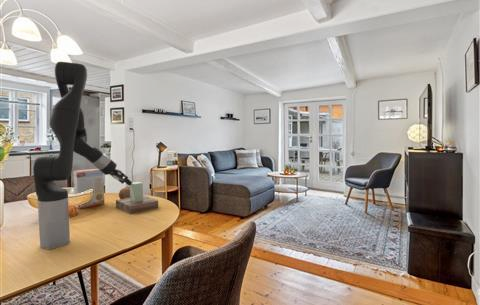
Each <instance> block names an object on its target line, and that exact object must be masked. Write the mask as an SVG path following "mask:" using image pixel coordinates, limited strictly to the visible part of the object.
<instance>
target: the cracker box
mask: <svg viewBox="0 0 480 305" xmlns="http://www.w3.org/2000/svg"><path fill="white" fill-rule="evenodd" d="M72 171H73V189H74V191H73V192H74V195H75V194H77V193H81V192H84V191H86V190H89V189H93V190H94V193H93V195H92V197H91V199H90V200H89V201H88V202H86V203H84V204H81V205H78V206H77V208H76V209H79V210H80V209H85V208H90V207H94V206H100V205H104V204H105V203H106V202H105V187H104V186H105V184H104V173H102V172H101V171H100V170H99V169H98V168H91V169H88V168H87V169H80V170H72Z"/></svg>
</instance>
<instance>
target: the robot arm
mask: <svg viewBox="0 0 480 305" xmlns="http://www.w3.org/2000/svg"><path fill="white" fill-rule="evenodd" d="M54 76H55V80H56V85H57V88H58V91H59V95H60V99H59V100H58V101H56V103H55V104H54V105H53V107H52V108H51V114H50V118H49V126H50V128H51V131H52V132H53V134H54V135H55V137H56V139H57V141H58V143H59V154H58V155H42V156H38V157H37V158H36V159H35V160H34V162H33V168H32V170H33V172H32V173H33V180H34V190H35V194H36V197H37V210H38V212H37V213H38V231H39V234H38V236H39V247H40V248H42V249H47V250H52V249H55V248H60V247H64V246H67V245H69V243H70V241H71V236H70V211H69V210H70V208H69V191H68V190H67V189H66V188H62V187H60V186H57V185H56V184H55V183H53V182H54V181H55V182H56V181H57V182H58V181H62V182H63V181H67V180H69V178H70V177H71V174H72V171H73V164H74V161H73V160H74V153H76V154H77V155H79V156H82V157H84V158H85V159H86V160H88V162H90V163H91V164H92V165H93V166H94V167H95V169H99V170H100V171H101V172H102V173H103V175H105V176H107V175H110V176H111V177H112V178H113V179H115V180H117V181H118V182H119V183H121V184H124V183H125V184H127V186H128V187H130V185H131V184H132V183H133V182H132V180H130V179H129V177H128V175H127V174H125V173H124V172H123V171H121V170H120V169H117V163H116V162H114V161H113V159H111V158H110V157H109V156H108V155H106V154H105V153H103V151H101V150H100V149H99V148H98V147H97V146H94V145H93V146H91V145H89V143H87V142H88V135H87V130H86V128H85V127H86V125H85V115H84V110H83V109H82V107H81V104H82V100H83V95H84V91H85V88H86V86H87V85H86V84H87V80H88V70H87V67H86V66H85V65H84V64H81V63H77V62H76V63H75V62H68V61H58V62H56V63H55V66H54ZM68 85H70V86H71V88H70V89H69V86H68Z"/></svg>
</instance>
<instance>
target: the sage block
mask: <svg viewBox="0 0 480 305" xmlns="http://www.w3.org/2000/svg"><path fill="white" fill-rule="evenodd" d="M143 183H144V182H141V181H135V182H134V181H133V182H132V184H131V185H130V186H129V187H130V201H133V202H138V201H143V196H144V184H143Z"/></svg>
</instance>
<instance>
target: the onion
mask: <svg viewBox="0 0 480 305" xmlns="http://www.w3.org/2000/svg"><path fill="white" fill-rule="evenodd" d="M118 198H119V200H120V199H125V198H130V186H129V185H127V186H125V187H123V188H121V189H120V190H119V192H118Z"/></svg>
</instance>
